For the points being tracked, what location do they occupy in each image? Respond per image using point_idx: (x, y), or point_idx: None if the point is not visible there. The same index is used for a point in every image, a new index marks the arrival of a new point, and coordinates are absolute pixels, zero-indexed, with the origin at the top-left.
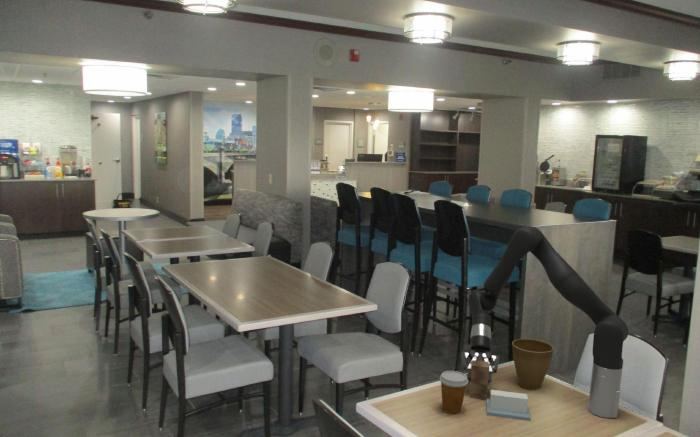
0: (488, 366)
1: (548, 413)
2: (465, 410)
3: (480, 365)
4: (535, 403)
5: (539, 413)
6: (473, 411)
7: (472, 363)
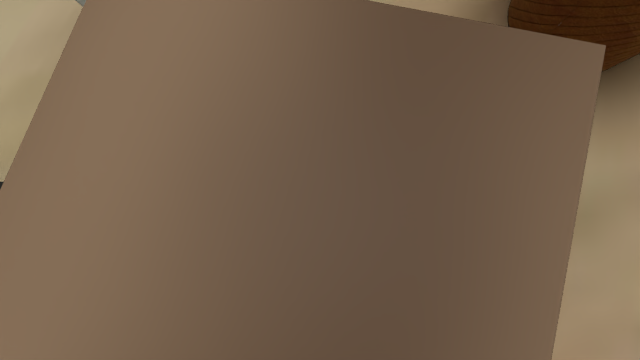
0: (95, 13)
1: (8, 13)
2: (478, 12)
3: (303, 63)
4: (8, 121)
5: (54, 9)
6: (427, 4)
7: (546, 226)
